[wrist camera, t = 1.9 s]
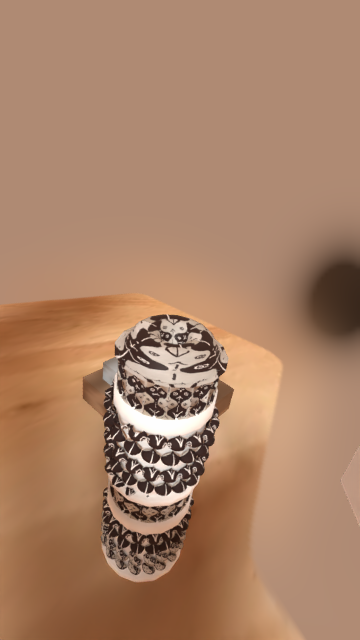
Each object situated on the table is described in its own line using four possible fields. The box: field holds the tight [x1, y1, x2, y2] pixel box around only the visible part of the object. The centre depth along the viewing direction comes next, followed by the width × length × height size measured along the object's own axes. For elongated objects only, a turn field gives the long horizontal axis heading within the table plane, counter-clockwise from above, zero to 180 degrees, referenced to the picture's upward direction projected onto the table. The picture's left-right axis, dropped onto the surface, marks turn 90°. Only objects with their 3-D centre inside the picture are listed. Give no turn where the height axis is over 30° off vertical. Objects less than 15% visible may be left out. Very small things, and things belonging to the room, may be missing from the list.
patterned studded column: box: [101, 315, 228, 583], centre depth 30 cm, size 9×9×25 cm
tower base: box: [83, 357, 234, 427], centre depth 51 cm, size 16×16×7 cm
